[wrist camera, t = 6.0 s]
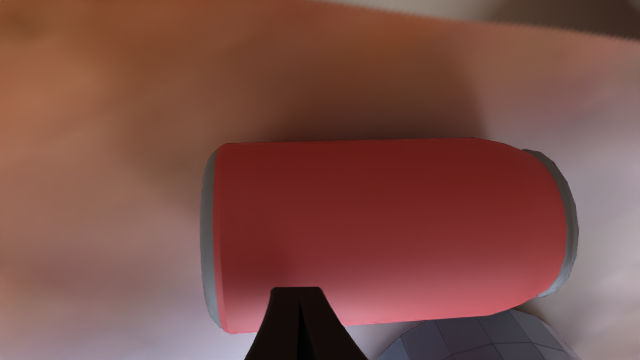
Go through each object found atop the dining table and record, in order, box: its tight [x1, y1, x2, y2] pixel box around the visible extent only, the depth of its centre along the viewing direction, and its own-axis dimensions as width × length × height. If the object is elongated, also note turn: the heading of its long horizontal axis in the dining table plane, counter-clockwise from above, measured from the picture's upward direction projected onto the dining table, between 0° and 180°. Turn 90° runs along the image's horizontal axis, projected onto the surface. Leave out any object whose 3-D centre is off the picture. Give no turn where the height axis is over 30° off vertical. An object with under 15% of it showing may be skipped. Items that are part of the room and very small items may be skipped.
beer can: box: [200, 137, 579, 334], centre depth 16 cm, size 7×7×12 cm
